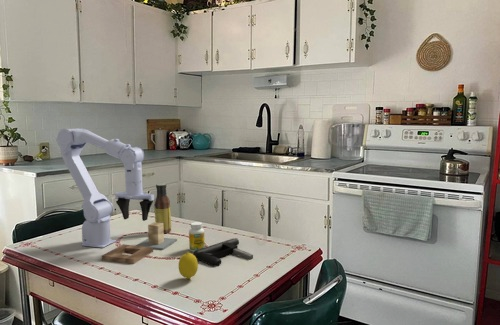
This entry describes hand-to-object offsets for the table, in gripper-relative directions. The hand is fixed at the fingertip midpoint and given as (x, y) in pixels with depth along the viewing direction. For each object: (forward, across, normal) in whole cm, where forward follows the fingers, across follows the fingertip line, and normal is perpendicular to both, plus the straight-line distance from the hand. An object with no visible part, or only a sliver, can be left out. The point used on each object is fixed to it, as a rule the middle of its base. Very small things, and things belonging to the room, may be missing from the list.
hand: (135, 219), depth 142 cm
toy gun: (+11, +34, +1) cm, 36 cm away
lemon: (+11, +30, -20) cm, 37 cm away
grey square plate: (+10, +5, +6) cm, 13 cm away
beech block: (+10, +5, +6) cm, 12 cm away
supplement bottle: (+11, +22, +4) cm, 25 cm away
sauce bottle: (+11, 0, +20) cm, 23 cm away
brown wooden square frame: (+10, +2, -8) cm, 13 cm away
